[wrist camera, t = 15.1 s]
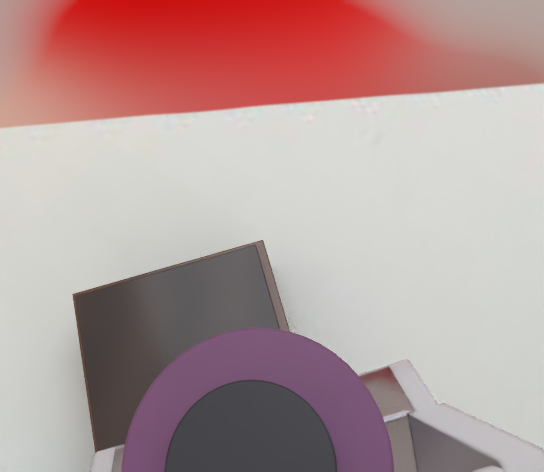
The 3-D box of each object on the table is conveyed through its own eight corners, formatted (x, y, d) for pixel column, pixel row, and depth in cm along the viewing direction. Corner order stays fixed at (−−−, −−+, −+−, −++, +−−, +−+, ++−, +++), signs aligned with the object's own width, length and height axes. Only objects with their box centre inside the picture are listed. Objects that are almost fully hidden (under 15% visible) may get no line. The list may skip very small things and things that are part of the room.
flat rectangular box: (268, 263, 36) (261, 233, 30) (339, 508, 31) (347, 528, 25) (102, 310, 36) (64, 290, 30) (145, 568, 30) (108, 602, 24)
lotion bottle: (324, 354, 17) (347, 283, 9) (369, 500, 16) (456, 599, 7) (193, 393, 17) (77, 361, 8) (226, 544, 16) (125, 706, 7)
